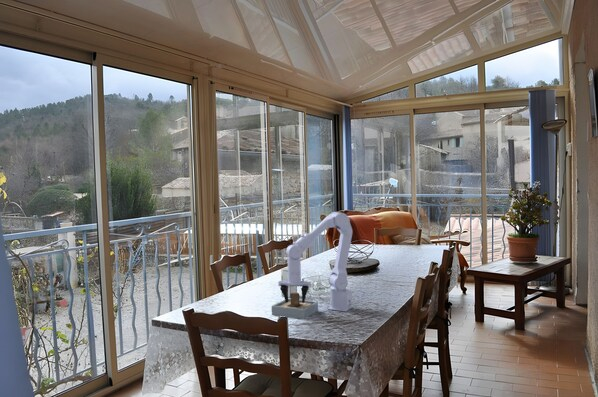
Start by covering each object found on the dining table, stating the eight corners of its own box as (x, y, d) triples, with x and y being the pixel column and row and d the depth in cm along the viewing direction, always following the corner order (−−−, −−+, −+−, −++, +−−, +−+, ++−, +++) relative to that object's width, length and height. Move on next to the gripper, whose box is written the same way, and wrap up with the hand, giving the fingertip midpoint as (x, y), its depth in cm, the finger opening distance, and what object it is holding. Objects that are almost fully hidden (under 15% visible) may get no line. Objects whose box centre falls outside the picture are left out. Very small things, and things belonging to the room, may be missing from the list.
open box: (318, 310, 225) (317, 301, 225) (304, 319, 213) (304, 309, 213) (287, 307, 232) (286, 298, 232) (271, 314, 220) (271, 305, 220)
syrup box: (288, 294, 258) (288, 266, 257) (297, 295, 254) (296, 267, 253) (281, 296, 253) (280, 268, 252) (290, 298, 249) (289, 269, 249)
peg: (300, 310, 224) (300, 292, 224) (298, 312, 220) (298, 294, 220) (292, 310, 225) (291, 292, 225) (289, 312, 221) (289, 294, 221)
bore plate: (311, 309, 225) (311, 303, 225) (300, 316, 215) (300, 309, 215) (290, 307, 230) (290, 301, 230) (278, 313, 220) (278, 307, 220)
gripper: (312, 270, 224) (312, 300, 224) (281, 269, 227) (282, 299, 228) (308, 273, 217) (309, 304, 218) (276, 273, 221) (277, 303, 221)
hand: (295, 302), depth 222 cm, fingers open, 7 cm apart
